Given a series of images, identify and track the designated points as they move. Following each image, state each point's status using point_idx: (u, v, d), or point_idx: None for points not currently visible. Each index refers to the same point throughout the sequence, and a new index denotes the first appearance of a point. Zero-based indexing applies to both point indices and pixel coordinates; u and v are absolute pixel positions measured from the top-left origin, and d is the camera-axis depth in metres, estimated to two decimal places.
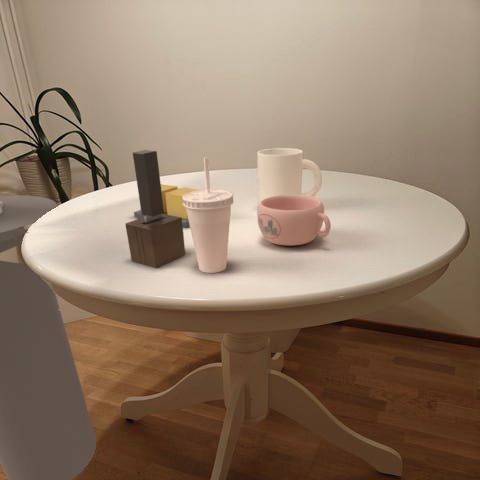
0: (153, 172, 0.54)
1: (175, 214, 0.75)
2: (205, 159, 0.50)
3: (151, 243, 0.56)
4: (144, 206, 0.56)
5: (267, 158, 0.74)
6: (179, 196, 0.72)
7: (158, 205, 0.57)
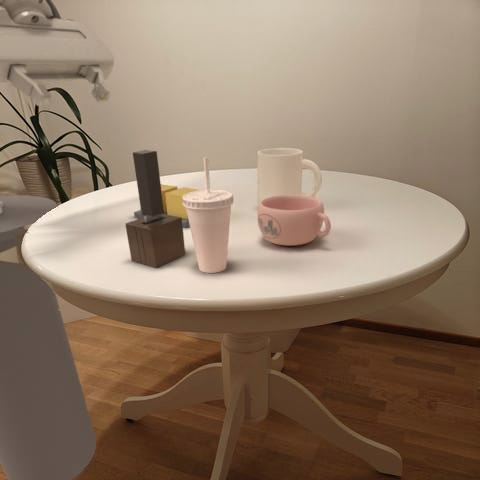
0: (153, 172, 0.54)
1: (175, 214, 0.75)
2: (205, 159, 0.50)
3: (151, 243, 0.56)
4: (144, 206, 0.56)
5: (267, 158, 0.74)
6: (179, 196, 0.72)
7: (158, 205, 0.57)
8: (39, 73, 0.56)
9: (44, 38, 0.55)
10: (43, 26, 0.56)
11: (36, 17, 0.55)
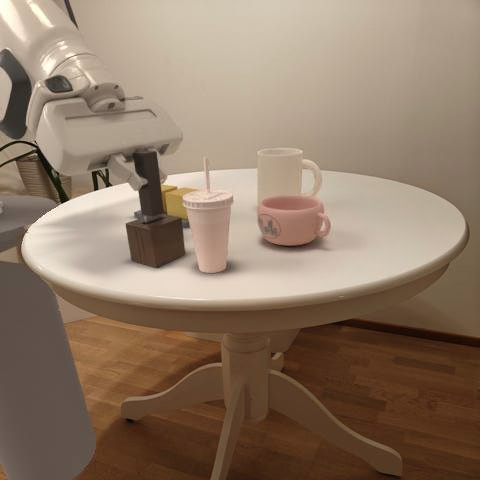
0: (153, 172, 0.54)
1: (175, 214, 0.75)
2: (205, 159, 0.50)
3: (151, 243, 0.56)
4: (144, 206, 0.56)
5: (267, 158, 0.74)
6: (179, 196, 0.72)
7: (158, 205, 0.57)
8: None
9: (120, 124, 0.54)
10: (117, 110, 0.55)
11: (112, 103, 0.54)
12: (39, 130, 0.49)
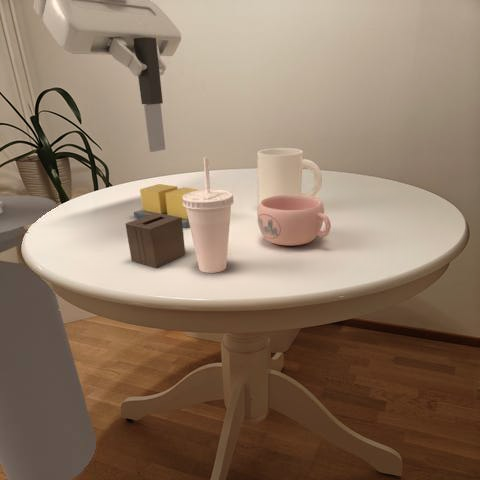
0: (152, 58, 0.58)
1: (175, 214, 0.75)
2: (205, 159, 0.50)
3: (151, 243, 0.56)
4: (144, 94, 0.60)
5: (267, 158, 0.74)
6: (179, 196, 0.72)
7: (157, 94, 0.60)
8: None
9: (121, 13, 0.58)
10: (119, 2, 0.59)
11: None
12: (46, 8, 0.53)
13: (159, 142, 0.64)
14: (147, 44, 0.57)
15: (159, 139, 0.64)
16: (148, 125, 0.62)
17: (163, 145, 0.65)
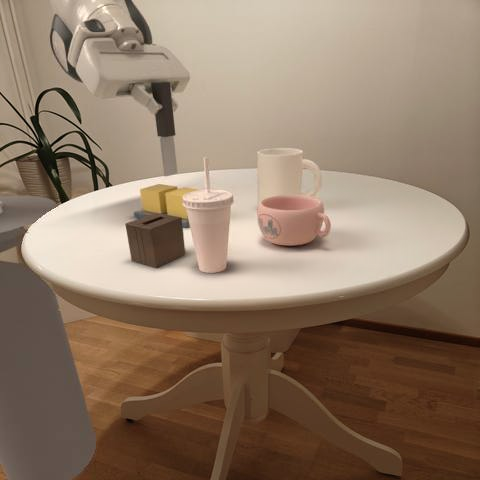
0: (167, 99, 0.68)
1: (175, 214, 0.75)
2: (205, 159, 0.50)
3: (151, 243, 0.56)
4: (160, 128, 0.71)
5: (267, 158, 0.74)
6: (179, 196, 0.72)
7: (171, 128, 0.71)
8: None
9: (140, 61, 0.68)
10: (138, 51, 0.69)
11: (134, 44, 0.68)
12: (79, 61, 0.63)
13: (172, 167, 0.75)
14: (163, 88, 0.67)
15: (172, 165, 0.74)
16: (163, 154, 0.72)
17: (175, 170, 0.75)
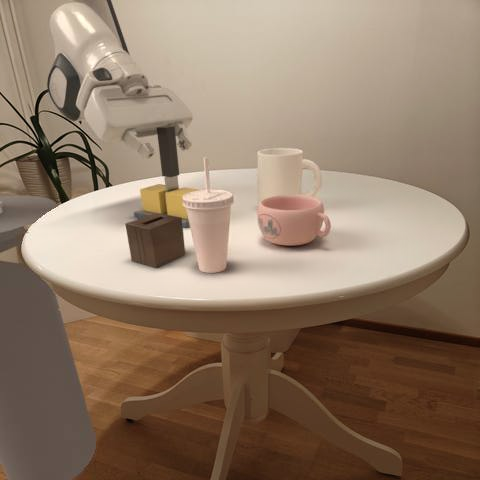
0: (171, 142, 0.72)
1: (175, 214, 0.75)
2: (205, 159, 0.50)
3: (151, 243, 0.56)
4: (164, 169, 0.74)
5: (267, 158, 0.74)
6: (179, 196, 0.72)
7: (175, 168, 0.74)
8: (141, 132, 0.72)
9: (145, 105, 0.71)
10: (143, 95, 0.72)
11: (139, 89, 0.71)
12: (88, 108, 0.66)
13: None
14: (168, 132, 0.70)
15: None
16: None
17: None
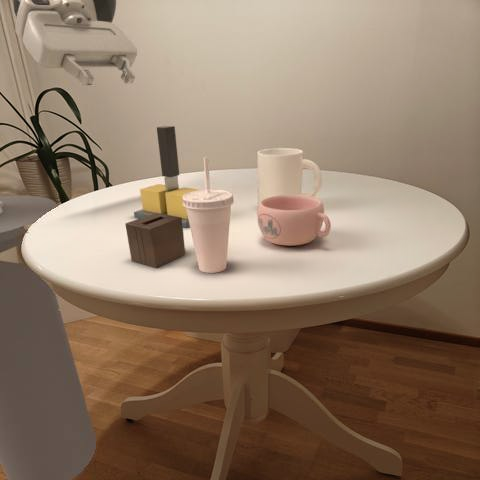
0: (171, 142, 0.72)
1: (175, 214, 0.75)
2: (205, 159, 0.50)
3: (151, 243, 0.56)
4: (164, 169, 0.74)
5: (267, 158, 0.74)
6: (179, 196, 0.72)
7: (175, 168, 0.74)
8: (82, 61, 0.73)
9: (86, 35, 0.73)
10: (84, 25, 0.74)
11: (80, 19, 0.72)
12: (25, 32, 0.67)
13: None
14: (168, 132, 0.70)
15: None
16: None
17: None
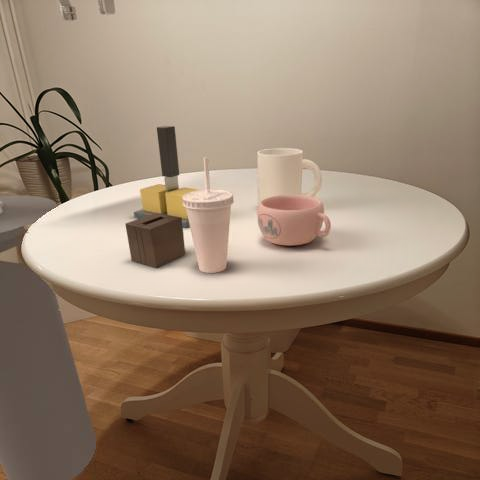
0: (171, 142, 0.72)
1: (175, 214, 0.75)
2: (205, 159, 0.50)
3: (151, 243, 0.56)
4: (164, 169, 0.74)
5: (267, 158, 0.74)
6: (179, 196, 0.72)
7: (175, 168, 0.74)
8: None
9: None
10: None
11: None
12: None
13: None
14: (168, 132, 0.70)
15: None
16: None
17: None
